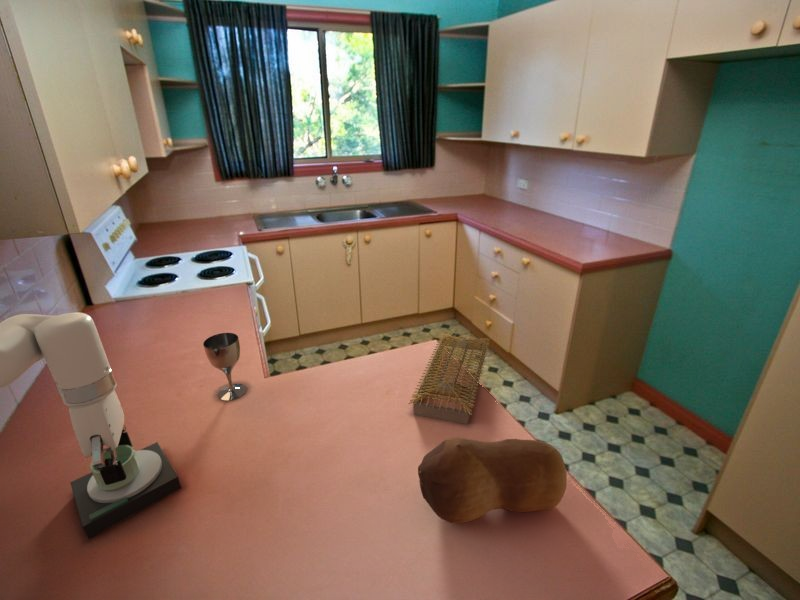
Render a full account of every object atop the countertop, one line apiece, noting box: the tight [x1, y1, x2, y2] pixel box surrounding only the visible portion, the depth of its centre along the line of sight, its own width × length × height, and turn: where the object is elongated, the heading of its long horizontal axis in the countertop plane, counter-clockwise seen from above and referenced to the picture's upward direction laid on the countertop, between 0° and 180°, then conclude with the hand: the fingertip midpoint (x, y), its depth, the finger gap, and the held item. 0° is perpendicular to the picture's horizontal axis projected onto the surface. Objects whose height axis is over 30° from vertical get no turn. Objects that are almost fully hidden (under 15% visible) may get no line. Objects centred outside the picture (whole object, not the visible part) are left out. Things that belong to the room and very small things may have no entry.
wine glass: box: [202, 332, 248, 402], centre depth 105 cm, size 8×8×15 cm
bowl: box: [89, 445, 140, 490], centre depth 78 cm, size 7×7×5 cm
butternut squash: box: [417, 436, 568, 524], centre depth 73 cm, size 14×13×25 cm
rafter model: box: [408, 332, 491, 425], centre depth 110 cm, size 35×14×6 cm, turn 162°
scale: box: [69, 441, 182, 540], centre depth 80 cm, size 15×13×4 cm
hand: (119, 465), depth 78 cm, fingers open, 7 cm apart
